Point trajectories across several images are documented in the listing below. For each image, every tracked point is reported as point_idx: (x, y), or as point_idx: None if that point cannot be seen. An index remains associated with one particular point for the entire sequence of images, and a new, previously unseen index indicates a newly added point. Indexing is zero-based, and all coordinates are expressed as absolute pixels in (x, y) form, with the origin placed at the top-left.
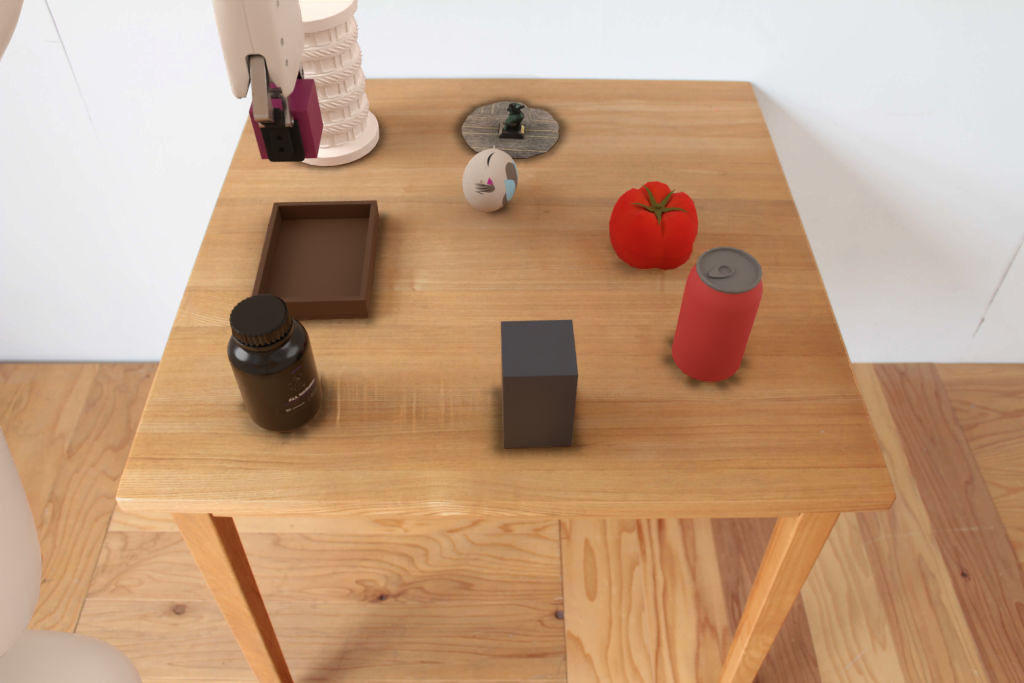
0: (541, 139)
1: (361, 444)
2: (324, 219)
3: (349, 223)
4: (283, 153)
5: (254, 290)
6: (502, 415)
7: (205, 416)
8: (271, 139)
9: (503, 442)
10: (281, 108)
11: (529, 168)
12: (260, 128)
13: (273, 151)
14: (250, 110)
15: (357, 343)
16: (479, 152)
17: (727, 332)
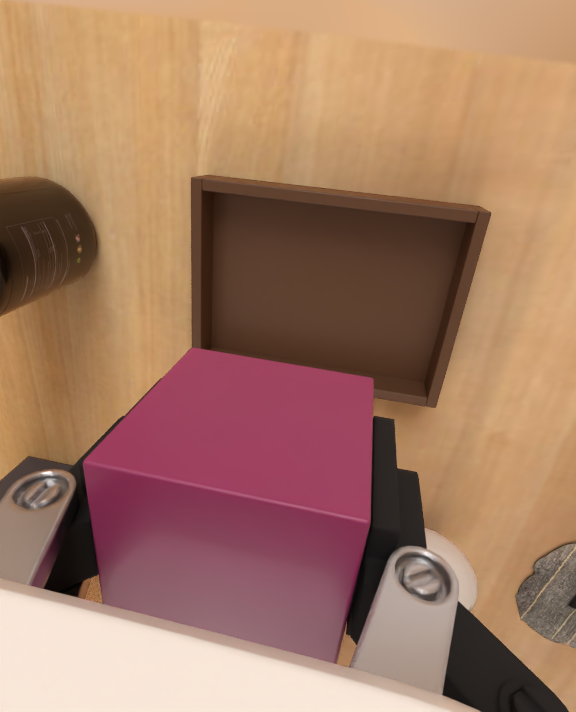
0: (555, 622)
1: (10, 323)
2: (444, 301)
3: (419, 343)
4: None
5: (221, 184)
6: (64, 464)
7: (18, 104)
8: (83, 458)
9: (22, 461)
10: (116, 573)
11: (489, 591)
12: (93, 449)
13: (115, 424)
14: (92, 469)
15: (161, 330)
16: (460, 597)
17: None
